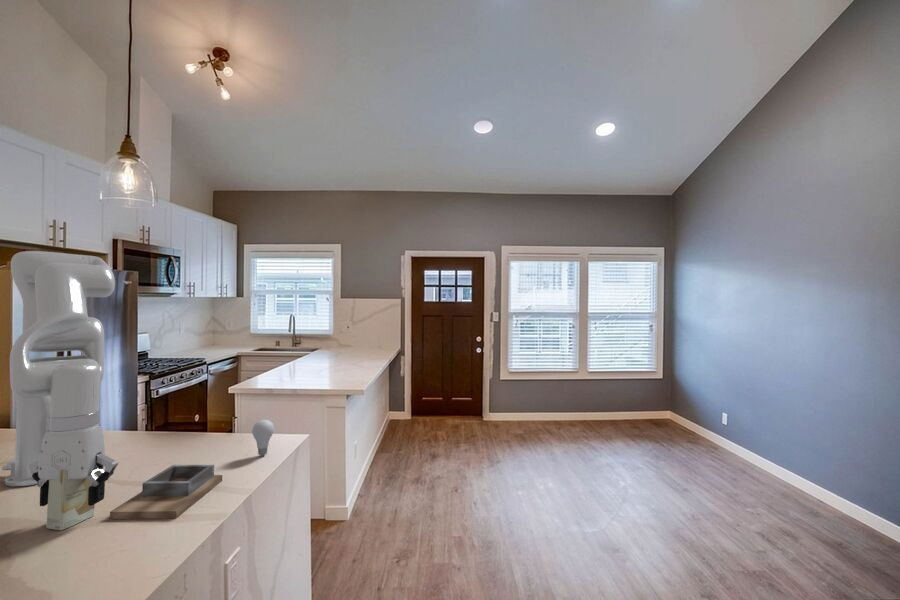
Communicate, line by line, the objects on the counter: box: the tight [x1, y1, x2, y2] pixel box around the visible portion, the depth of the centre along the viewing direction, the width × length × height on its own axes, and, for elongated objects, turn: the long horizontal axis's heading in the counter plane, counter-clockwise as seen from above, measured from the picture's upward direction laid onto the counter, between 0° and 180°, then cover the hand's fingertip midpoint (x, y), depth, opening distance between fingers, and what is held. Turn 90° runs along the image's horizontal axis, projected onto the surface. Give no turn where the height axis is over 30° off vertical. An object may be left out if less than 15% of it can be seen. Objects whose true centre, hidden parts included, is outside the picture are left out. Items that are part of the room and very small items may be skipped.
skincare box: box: [46, 470, 97, 531], centre depth 81 cm, size 6×4×12 cm
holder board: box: [109, 464, 223, 520], centre depth 92 cm, size 14×18×4 cm
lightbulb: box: [251, 419, 275, 457], centre depth 118 cm, size 6×6×11 cm
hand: (72, 502), depth 81 cm, fingers open, 9 cm apart
